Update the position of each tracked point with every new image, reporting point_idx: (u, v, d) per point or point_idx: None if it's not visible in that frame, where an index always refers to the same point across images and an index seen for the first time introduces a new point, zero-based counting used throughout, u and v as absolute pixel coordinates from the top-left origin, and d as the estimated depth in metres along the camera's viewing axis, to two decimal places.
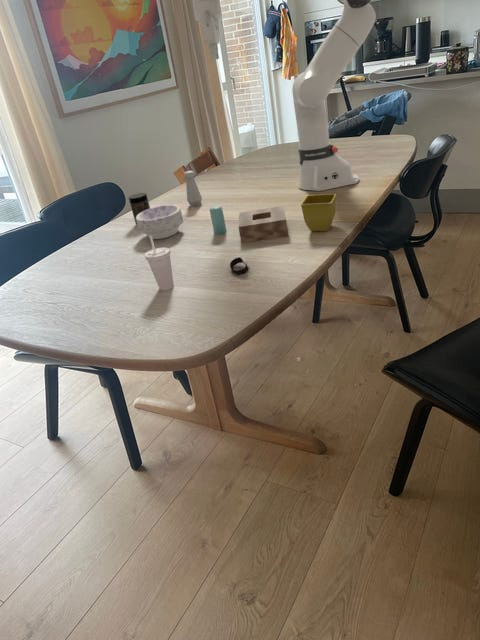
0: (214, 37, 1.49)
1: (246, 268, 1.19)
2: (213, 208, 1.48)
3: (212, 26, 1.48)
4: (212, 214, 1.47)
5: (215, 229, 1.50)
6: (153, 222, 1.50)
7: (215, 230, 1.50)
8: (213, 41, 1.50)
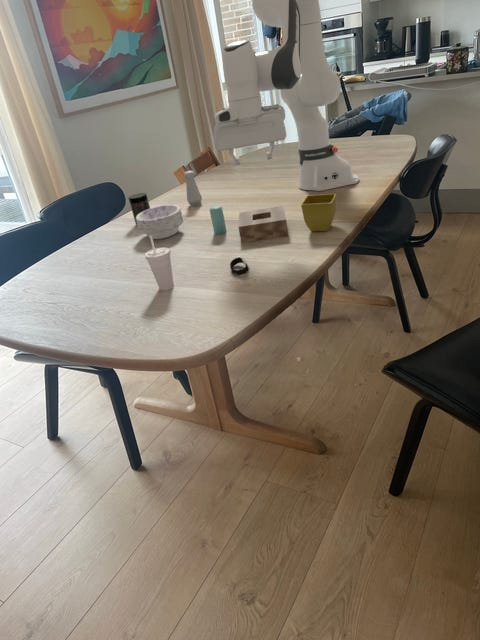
0: None
1: (246, 268, 1.19)
2: (213, 208, 1.48)
3: None
4: (212, 214, 1.47)
5: (215, 229, 1.50)
6: (153, 222, 1.50)
7: (215, 230, 1.50)
8: None
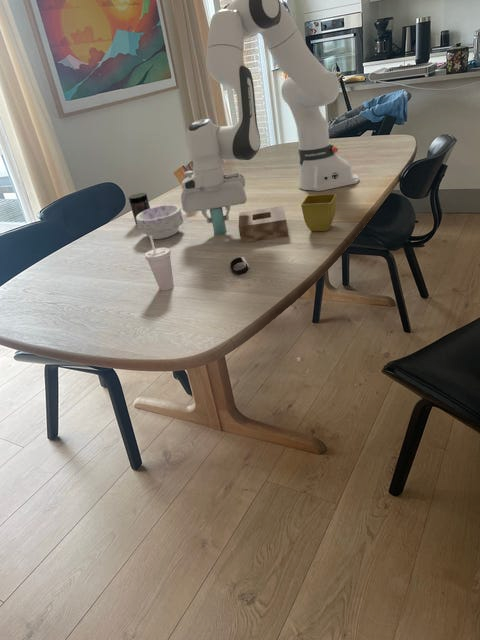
0: None
1: (246, 268, 1.19)
2: None
3: None
4: (212, 214, 1.47)
5: (215, 229, 1.50)
6: (153, 222, 1.50)
7: (215, 230, 1.50)
8: None
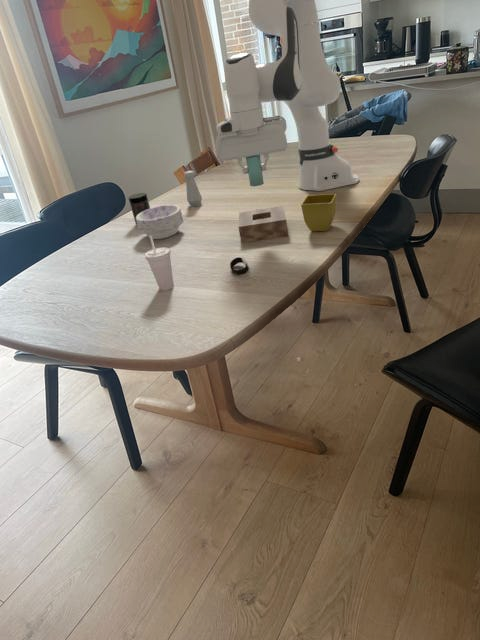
0: None
1: (246, 268, 1.19)
2: None
3: None
4: (249, 163, 1.34)
5: (252, 180, 1.36)
6: (153, 222, 1.50)
7: (251, 181, 1.36)
8: None
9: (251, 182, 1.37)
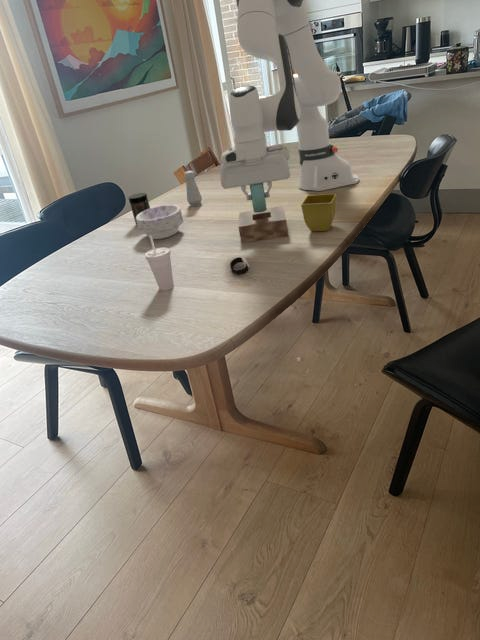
0: None
1: (246, 268, 1.19)
2: (253, 184, 1.38)
3: None
4: (252, 190, 1.37)
5: (255, 207, 1.40)
6: (153, 222, 1.50)
7: (255, 208, 1.40)
8: None
9: (254, 208, 1.40)
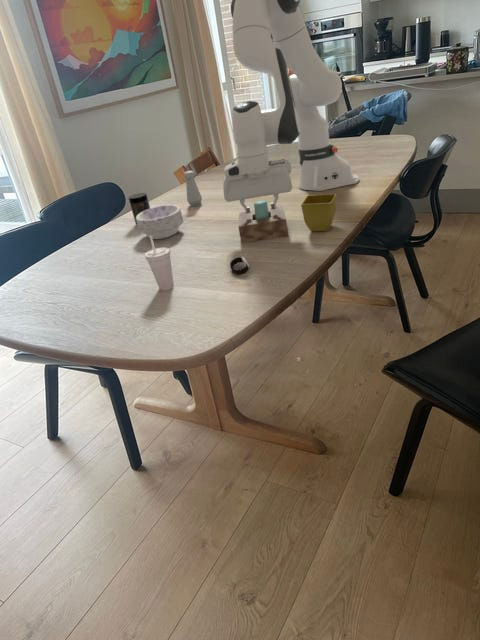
0: None
1: (246, 268, 1.19)
2: (258, 203, 1.41)
3: None
4: (256, 209, 1.40)
5: None
6: (153, 222, 1.50)
7: None
8: None
9: None
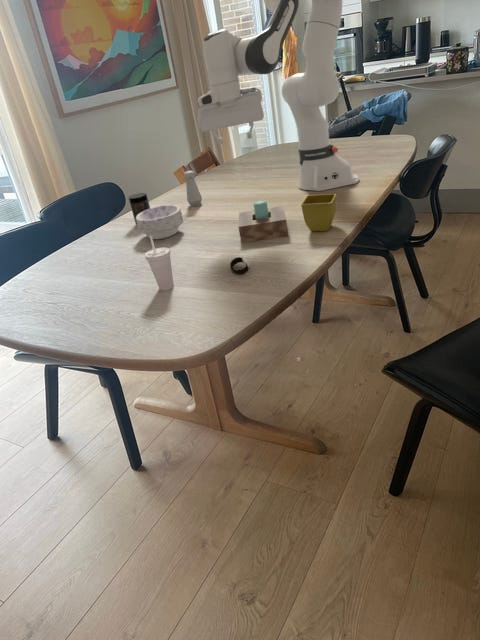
0: None
1: (246, 268, 1.19)
2: (257, 203, 1.41)
3: None
4: (256, 209, 1.40)
5: None
6: (153, 222, 1.50)
7: None
8: None
9: None
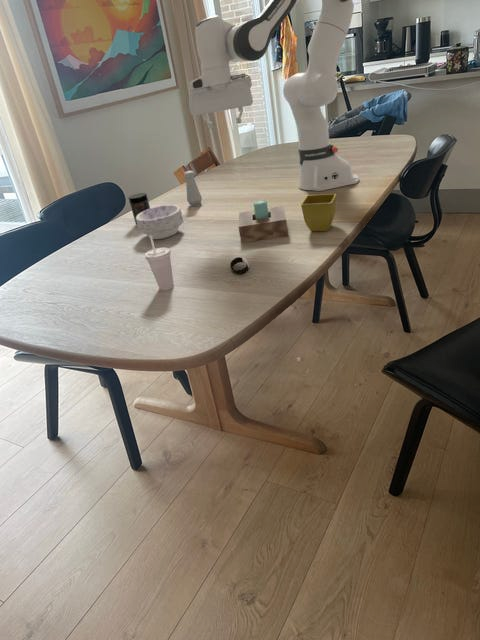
0: None
1: (246, 268, 1.19)
2: (257, 203, 1.41)
3: None
4: (256, 209, 1.40)
5: None
6: (153, 222, 1.50)
7: None
8: None
9: None
